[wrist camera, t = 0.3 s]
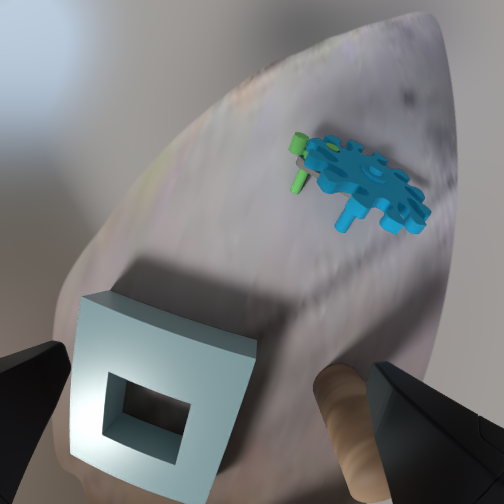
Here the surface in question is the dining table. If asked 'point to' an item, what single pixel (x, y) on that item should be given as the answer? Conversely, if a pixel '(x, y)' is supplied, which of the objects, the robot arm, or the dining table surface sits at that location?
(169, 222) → the dining table surface
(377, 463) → the peg
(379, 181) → the gear
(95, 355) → the housing
